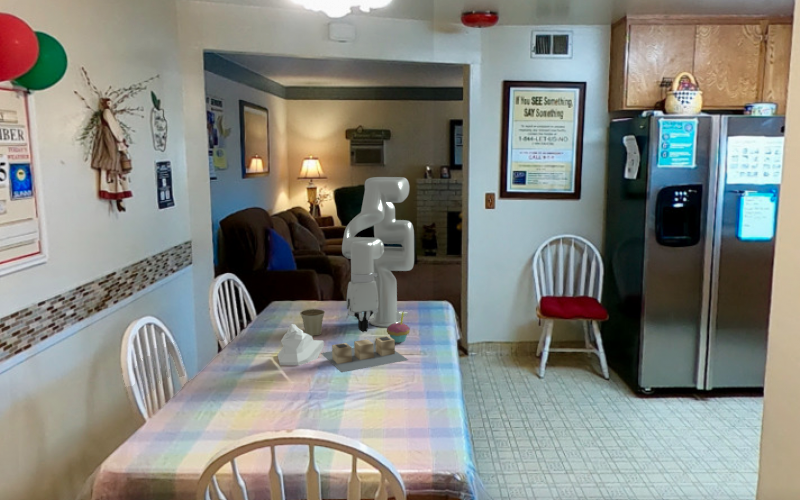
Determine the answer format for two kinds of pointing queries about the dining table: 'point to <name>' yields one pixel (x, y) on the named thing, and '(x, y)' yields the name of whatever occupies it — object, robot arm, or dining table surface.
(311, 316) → the flower pot
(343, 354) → the digit block
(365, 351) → the plain block
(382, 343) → the digit block
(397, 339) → the cupcake
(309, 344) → the white faceted lump
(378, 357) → the mat
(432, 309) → the dining table surface
